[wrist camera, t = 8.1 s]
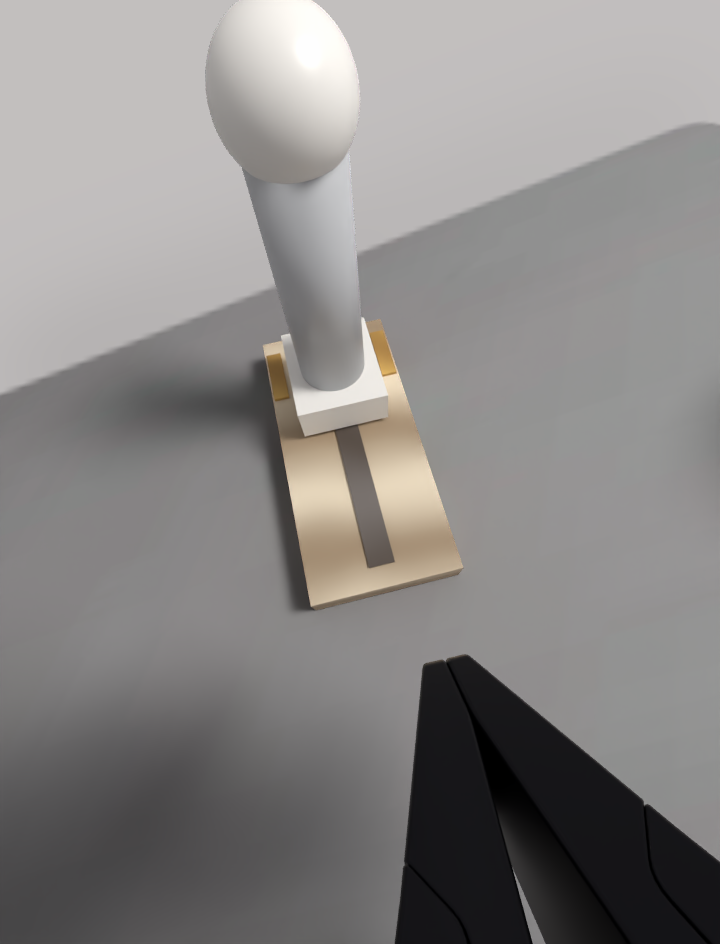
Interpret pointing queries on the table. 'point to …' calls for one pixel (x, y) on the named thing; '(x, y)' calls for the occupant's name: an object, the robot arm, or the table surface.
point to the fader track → (362, 495)
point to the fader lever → (301, 192)
